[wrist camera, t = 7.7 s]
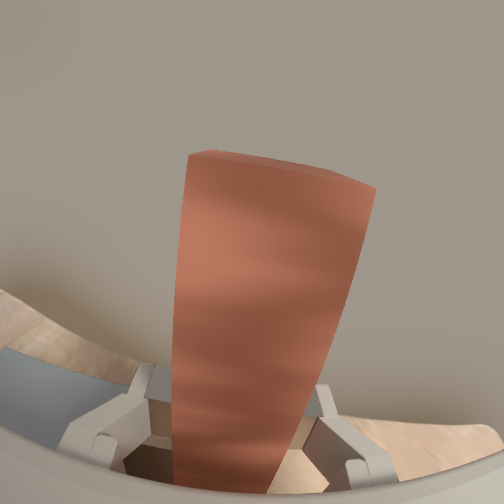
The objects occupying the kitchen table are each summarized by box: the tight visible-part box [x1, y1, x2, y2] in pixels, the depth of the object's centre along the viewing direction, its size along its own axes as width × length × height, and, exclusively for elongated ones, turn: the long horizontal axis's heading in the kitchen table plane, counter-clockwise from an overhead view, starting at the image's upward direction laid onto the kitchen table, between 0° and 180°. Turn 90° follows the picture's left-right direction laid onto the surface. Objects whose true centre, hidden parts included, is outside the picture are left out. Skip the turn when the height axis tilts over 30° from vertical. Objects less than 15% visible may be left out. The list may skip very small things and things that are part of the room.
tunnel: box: [0, 347, 129, 451], centre depth 11 cm, size 9×9×7 cm
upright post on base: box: [123, 150, 376, 494], centre depth 9 cm, size 10×4×18 cm, turn 91°
